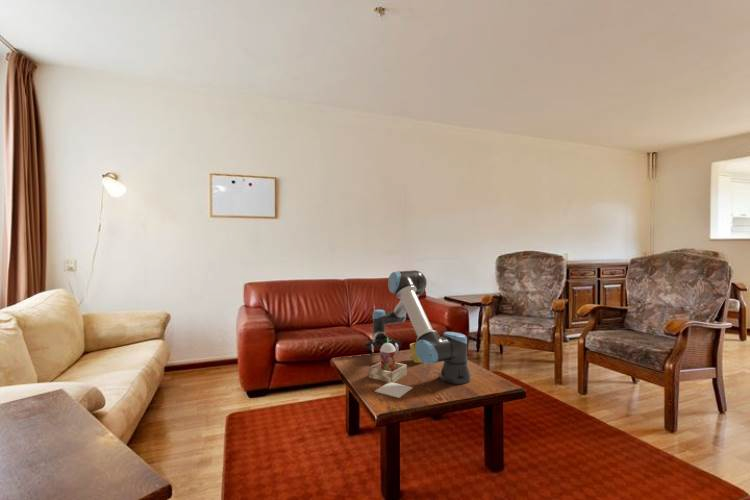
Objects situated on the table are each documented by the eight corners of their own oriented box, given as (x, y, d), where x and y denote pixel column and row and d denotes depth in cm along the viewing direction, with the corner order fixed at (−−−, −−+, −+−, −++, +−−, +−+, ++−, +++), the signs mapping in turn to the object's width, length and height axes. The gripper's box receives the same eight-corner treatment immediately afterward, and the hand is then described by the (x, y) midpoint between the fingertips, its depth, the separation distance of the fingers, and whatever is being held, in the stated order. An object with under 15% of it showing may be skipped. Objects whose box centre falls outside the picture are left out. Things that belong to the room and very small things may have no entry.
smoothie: (396, 373, 197) (396, 335, 197) (395, 378, 189) (395, 339, 188) (380, 372, 198) (380, 335, 198) (379, 378, 190) (379, 339, 189)
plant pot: (409, 358, 221) (409, 342, 221) (426, 358, 221) (426, 342, 221) (410, 364, 211) (410, 347, 210) (429, 364, 211) (428, 347, 210)
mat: (412, 388, 177) (412, 387, 177) (399, 397, 166) (399, 397, 166) (389, 382, 184) (389, 381, 184) (374, 391, 173) (374, 390, 173)
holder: (407, 374, 195) (406, 364, 195) (392, 383, 184) (392, 373, 183) (384, 369, 204) (383, 360, 203) (369, 377, 192) (368, 367, 191)
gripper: (401, 344, 225) (407, 355, 204) (360, 346, 223) (362, 357, 202) (401, 332, 225) (407, 341, 204) (360, 333, 223) (362, 343, 201)
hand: (385, 349), depth 203 cm, fingers open, 13 cm apart
